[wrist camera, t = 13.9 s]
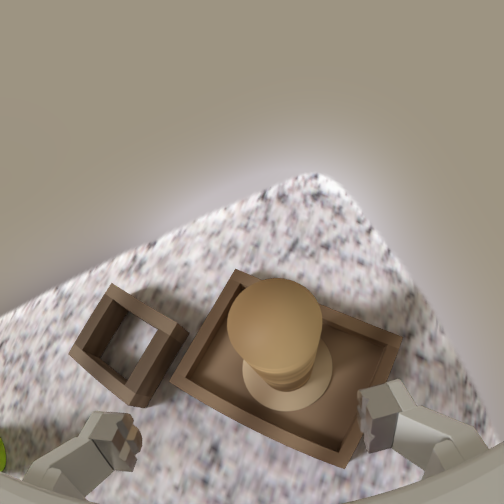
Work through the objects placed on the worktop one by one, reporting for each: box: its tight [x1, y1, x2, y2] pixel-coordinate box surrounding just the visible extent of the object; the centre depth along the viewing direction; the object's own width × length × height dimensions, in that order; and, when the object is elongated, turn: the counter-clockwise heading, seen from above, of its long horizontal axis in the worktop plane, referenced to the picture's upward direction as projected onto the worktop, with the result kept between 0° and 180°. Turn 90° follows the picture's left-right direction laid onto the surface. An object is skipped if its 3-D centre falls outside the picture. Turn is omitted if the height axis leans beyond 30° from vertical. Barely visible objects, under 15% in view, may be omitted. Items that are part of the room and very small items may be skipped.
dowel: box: [227, 278, 322, 392], centre depth 18 cm, size 4×4×12 cm
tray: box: [169, 269, 403, 469], centre depth 23 cm, size 15×11×2 cm
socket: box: [69, 283, 189, 408], centre depth 25 cm, size 8×8×3 cm
